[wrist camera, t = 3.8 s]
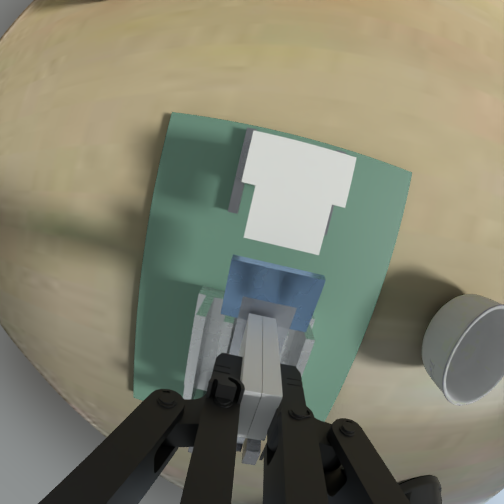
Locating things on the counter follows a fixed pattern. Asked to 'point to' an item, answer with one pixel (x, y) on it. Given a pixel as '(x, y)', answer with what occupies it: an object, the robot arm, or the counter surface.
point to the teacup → (465, 348)
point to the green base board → (255, 255)
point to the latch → (294, 190)
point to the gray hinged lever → (269, 299)
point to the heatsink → (222, 326)
